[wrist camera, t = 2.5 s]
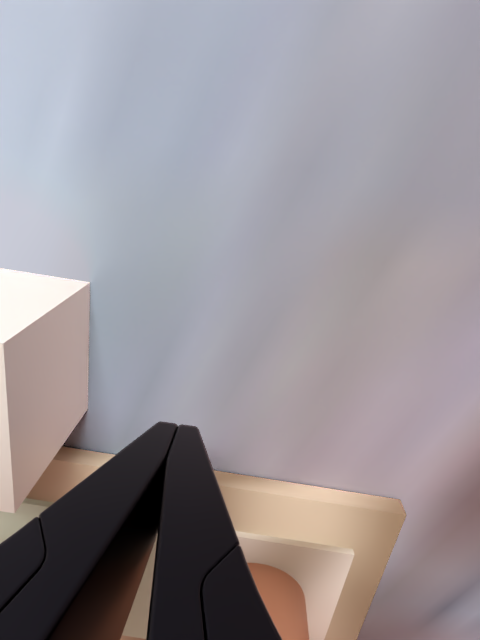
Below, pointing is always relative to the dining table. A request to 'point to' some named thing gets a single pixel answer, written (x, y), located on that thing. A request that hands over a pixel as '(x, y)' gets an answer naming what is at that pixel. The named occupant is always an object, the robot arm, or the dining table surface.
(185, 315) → the dining table surface
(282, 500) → the board
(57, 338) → the die
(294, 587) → the peach rounded cylinder
